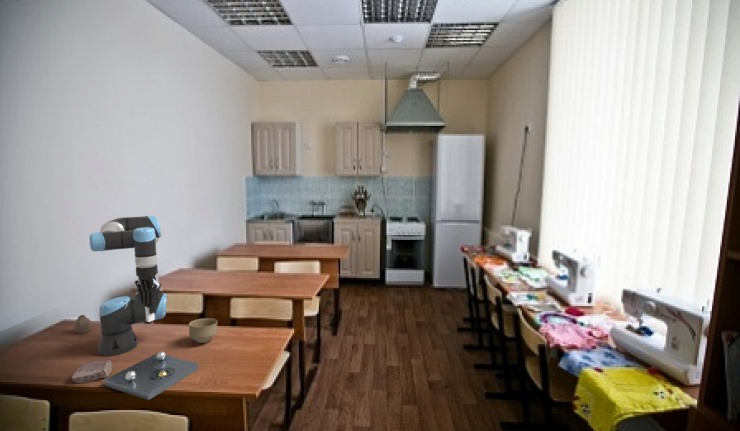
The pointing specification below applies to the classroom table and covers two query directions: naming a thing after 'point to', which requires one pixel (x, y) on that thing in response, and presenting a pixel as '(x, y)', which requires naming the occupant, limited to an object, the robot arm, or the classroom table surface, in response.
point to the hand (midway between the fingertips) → (150, 320)
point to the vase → (82, 324)
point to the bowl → (203, 329)
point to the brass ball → (162, 373)
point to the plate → (152, 376)
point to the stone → (92, 371)
